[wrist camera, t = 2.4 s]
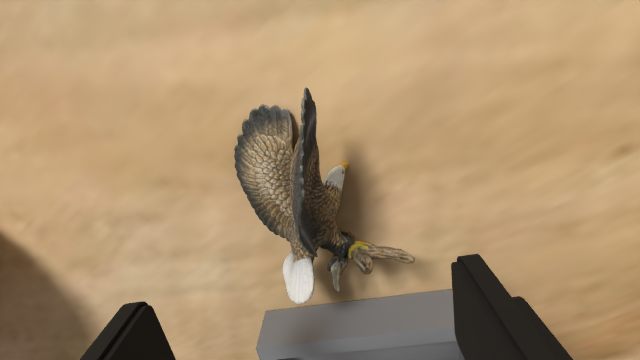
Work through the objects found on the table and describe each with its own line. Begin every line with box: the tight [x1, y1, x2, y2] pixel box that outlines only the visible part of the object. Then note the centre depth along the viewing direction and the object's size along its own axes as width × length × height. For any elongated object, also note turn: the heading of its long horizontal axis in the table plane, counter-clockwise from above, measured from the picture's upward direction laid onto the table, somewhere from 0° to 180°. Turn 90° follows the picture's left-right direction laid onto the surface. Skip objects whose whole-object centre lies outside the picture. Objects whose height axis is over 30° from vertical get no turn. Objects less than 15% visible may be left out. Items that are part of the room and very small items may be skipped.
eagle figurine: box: [235, 88, 415, 304], centre depth 16 cm, size 8×7×9 cm
